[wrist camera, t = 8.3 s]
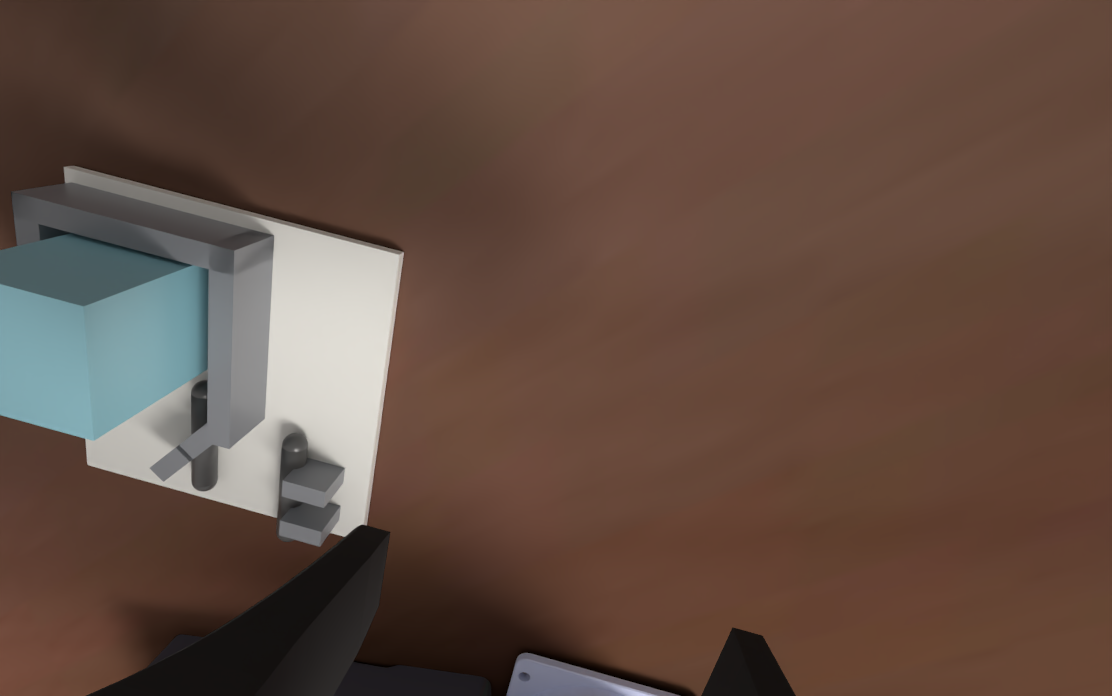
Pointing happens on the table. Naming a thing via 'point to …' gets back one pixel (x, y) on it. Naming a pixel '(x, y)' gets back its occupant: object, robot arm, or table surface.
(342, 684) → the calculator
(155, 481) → the board
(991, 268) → the table surface
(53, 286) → the pale blue cube
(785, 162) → the table surface
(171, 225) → the end holder
